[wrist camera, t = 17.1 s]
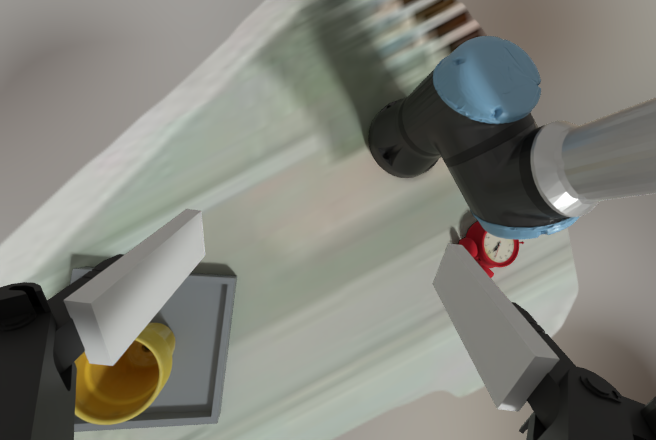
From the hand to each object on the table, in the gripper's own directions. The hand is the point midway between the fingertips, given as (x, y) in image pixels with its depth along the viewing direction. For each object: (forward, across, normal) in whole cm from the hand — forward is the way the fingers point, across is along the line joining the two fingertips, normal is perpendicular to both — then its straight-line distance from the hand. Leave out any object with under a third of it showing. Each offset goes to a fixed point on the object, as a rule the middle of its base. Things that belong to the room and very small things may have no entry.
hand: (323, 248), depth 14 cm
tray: (+15, -24, -31) cm, 42 cm away
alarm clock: (+37, +34, -18) cm, 53 cm away
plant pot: (+15, -24, -30) cm, 41 cm away
